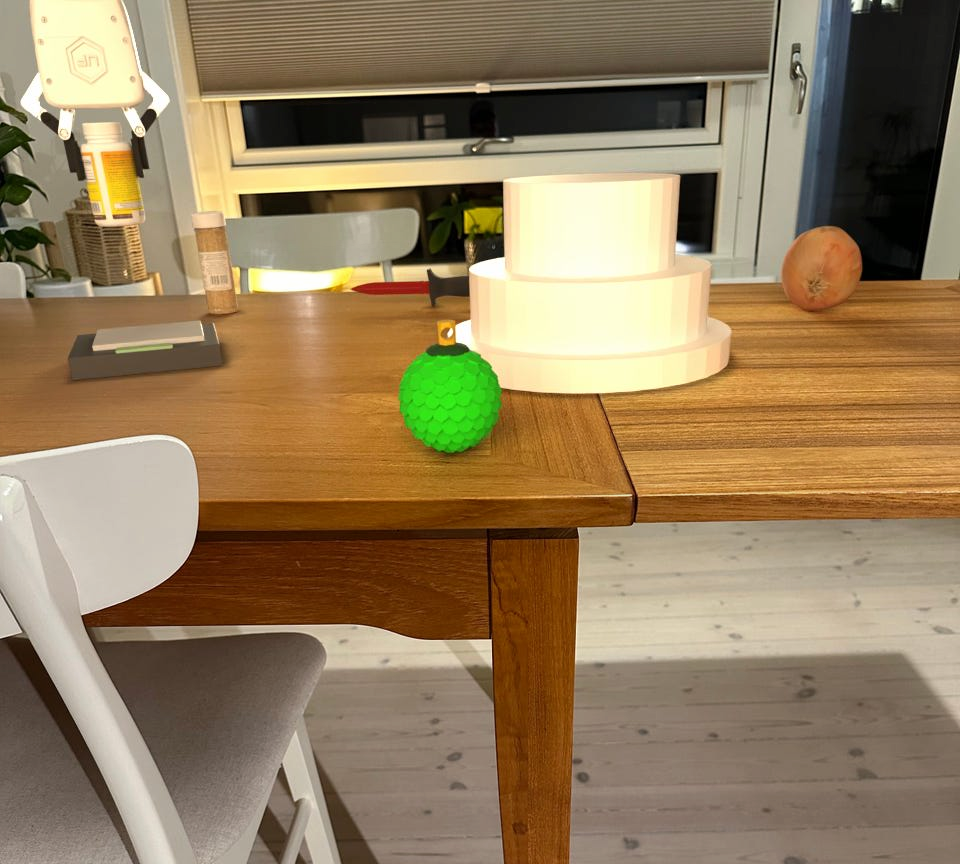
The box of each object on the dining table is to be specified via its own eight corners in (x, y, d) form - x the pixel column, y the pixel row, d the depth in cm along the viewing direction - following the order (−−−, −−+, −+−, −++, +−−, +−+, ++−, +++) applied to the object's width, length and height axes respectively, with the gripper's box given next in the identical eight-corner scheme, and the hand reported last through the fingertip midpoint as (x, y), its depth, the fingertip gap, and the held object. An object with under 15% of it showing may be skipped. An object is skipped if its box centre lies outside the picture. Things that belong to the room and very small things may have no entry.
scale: (72, 380, 104) (66, 352, 102) (82, 355, 116) (76, 329, 114) (222, 365, 107) (218, 338, 106) (216, 342, 119) (212, 317, 118)
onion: (852, 303, 126) (864, 221, 121) (859, 317, 118) (872, 229, 113) (776, 303, 128) (784, 223, 124) (777, 317, 120) (787, 231, 115)
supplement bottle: (155, 222, 110) (137, 121, 105) (132, 227, 105) (112, 121, 100) (110, 223, 111) (90, 123, 106) (85, 227, 106) (63, 123, 101)
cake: (478, 404, 88) (470, 193, 80) (429, 342, 114) (419, 178, 106) (780, 378, 93) (802, 175, 84) (667, 324, 119) (676, 165, 110)
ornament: (494, 432, 80) (490, 308, 76) (511, 461, 73) (508, 327, 69) (398, 440, 79) (388, 315, 75) (406, 470, 72) (396, 335, 68)
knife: (514, 302, 137) (514, 265, 134) (514, 304, 135) (513, 267, 133) (352, 306, 139) (348, 270, 137) (350, 308, 138) (346, 271, 136)
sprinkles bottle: (242, 309, 141) (227, 209, 135) (235, 314, 137) (219, 212, 131) (211, 310, 141) (195, 211, 135) (203, 315, 137) (186, 214, 131)
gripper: (-24, -23, 92) (25, 184, 101) (160, -23, 96) (192, 176, 105) (-12, -13, 98) (33, 181, 107) (160, -14, 102) (190, 173, 111)
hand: (111, 177), depth 106 cm, fingers closed on supplement bottle, 5 cm apart
